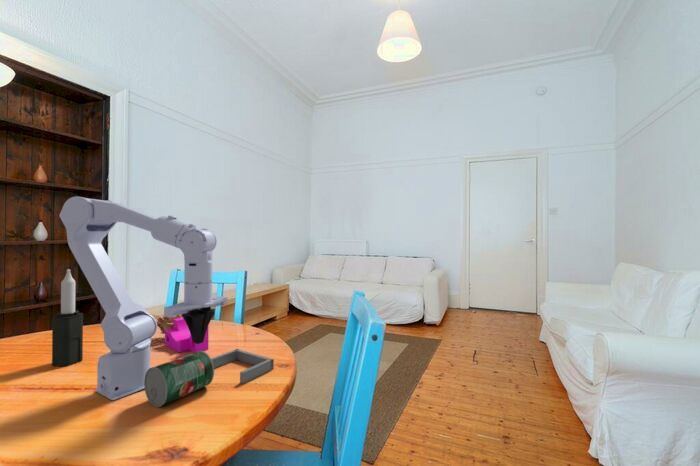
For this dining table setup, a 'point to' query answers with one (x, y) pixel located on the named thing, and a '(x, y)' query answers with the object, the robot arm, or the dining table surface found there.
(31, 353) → the dining table surface
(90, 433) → the dining table surface
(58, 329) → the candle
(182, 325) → the toy block
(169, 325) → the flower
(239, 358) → the box
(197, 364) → the canned tomato
